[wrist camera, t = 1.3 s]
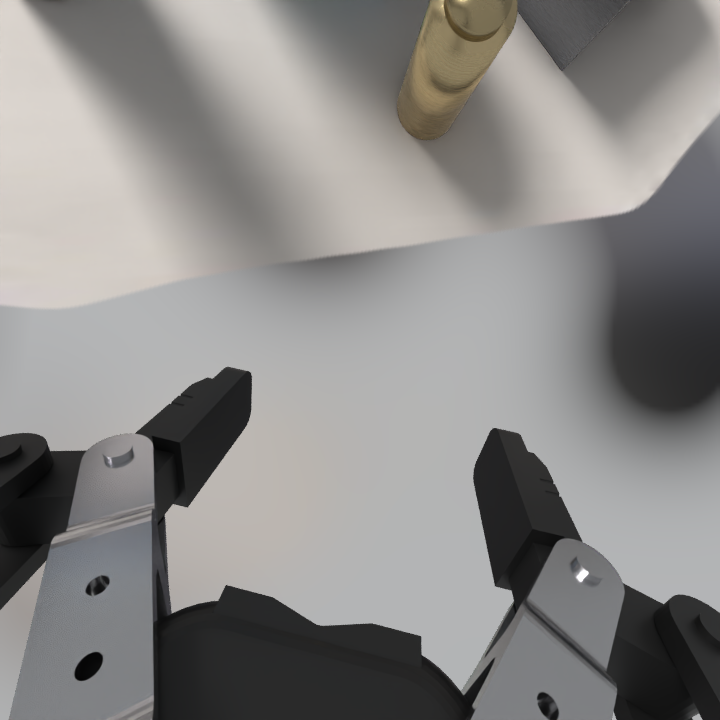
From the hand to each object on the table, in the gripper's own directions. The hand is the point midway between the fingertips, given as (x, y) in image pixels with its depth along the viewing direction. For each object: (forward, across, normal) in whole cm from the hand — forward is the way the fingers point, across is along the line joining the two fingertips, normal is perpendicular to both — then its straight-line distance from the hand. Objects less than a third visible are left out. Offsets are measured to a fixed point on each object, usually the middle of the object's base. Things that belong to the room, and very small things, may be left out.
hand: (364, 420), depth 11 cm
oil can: (+33, +1, -14) cm, 36 cm away
